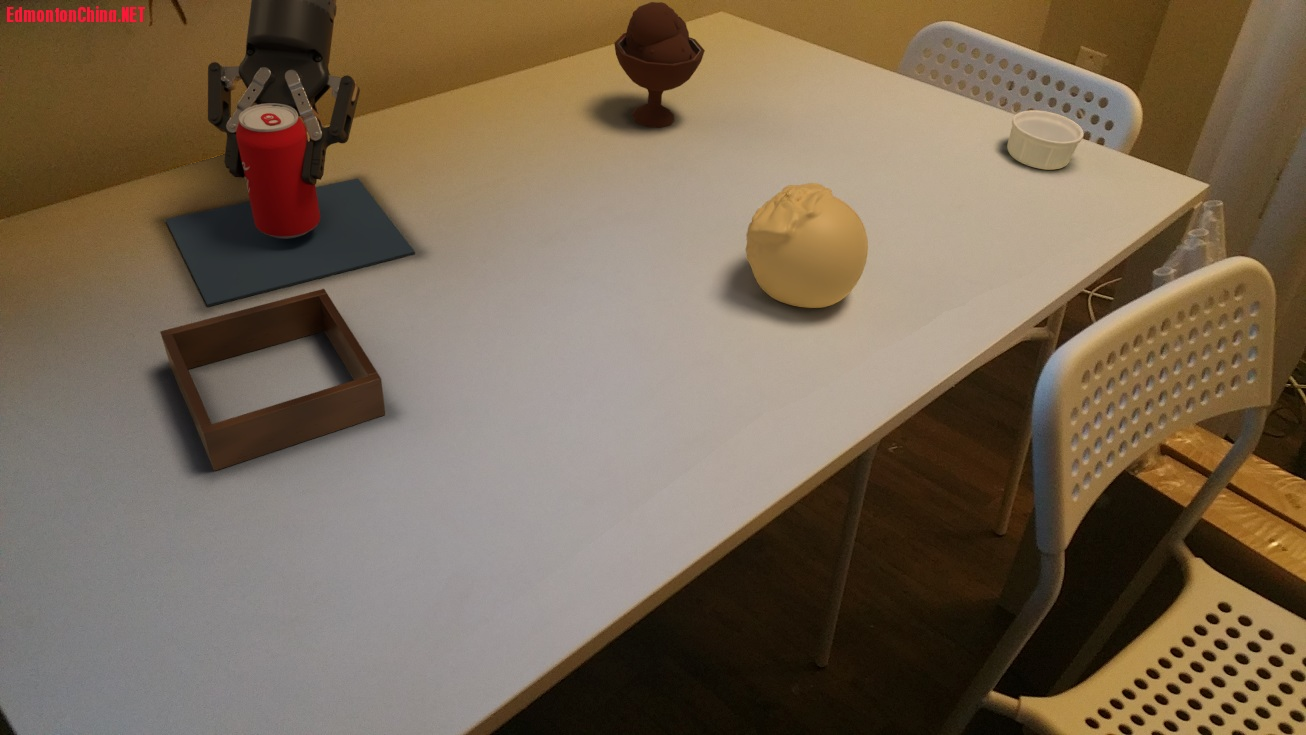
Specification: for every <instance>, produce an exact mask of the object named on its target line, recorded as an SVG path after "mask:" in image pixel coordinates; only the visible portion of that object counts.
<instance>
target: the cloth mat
mask: <svg viewBox="0 0 1306 735" xmlns="http://www.w3.org/2000/svg"><path fill="white" fill-rule="evenodd" d="M315 187H316V193H317V199H318V205H319V211H320V221H319V223H318V225H317V226H316V227H315V228H314V229H312V230H311V231H309V232H308V233H306V234H304V235H302V236H299V237H295V238H288V239H282V238H276V237H272V236H269V235H266V234H264V233H262V232H261V231H260V230H258V229H257V227H256V226H255V222H254V217H253V212H252V208H251V203H250V200H249V201H243V202H239V203H235V204H229V205H225V206H220V207H215V208H212V209H205V210H202V211H197V212H192V213H188V214H183V215H177V216H173V217H169V218H165V223H166V225H167V226H168V229H169V231H170V233H171V235H172V237H173V239H174V241H175V243H176V245H177V247H178V250H179V251H180V253H181V256H182V257H183V259H184V261H185V263H186V265H187V268H188V271H189V272H190V274H191V276H192V278H193V280H194V282H195V284H196V286H197V288H198V290H199V292H200V294H201V296H202V298H203V300H204V302H205V304H206V306H207V307H208V308H209V307H213V306H217V305H221V304H224V303H228V302H232V301H237V300H240V299H244V298H248V297H252V296H256V295H260V294H263V293H264V294H265V293H268V292H271V291H275V290H280V289H283V288H287V287H291V286H295V285H298V284H299V285H300V284H302V283H303V284H304V283H306V282H311V281H315V280H319V279H323V278H327V277H330V276H334V275H339V274H342V273H347V272H350V271H353V270H357V269H362V268H365V267H370V266H373V265H377V264H381V263H385V262H390V261H393V260H397V259H401V258H404V257H409V256H413V255H415V254H416V251H415V250H414V249H413V247H412V246H411V245H410V243H409V241H408V240H407V239H406V238H405V237H404V236H403V234H402V233H401V231H399V229H398V228H397V226H396V225H395V224H394V222H393V221H392V220H391V219H390V217H389V216H388V215H387V213H386V212H385V211H384V209H383V208H382V207H381V206H380V204H379V203H378V202H377V201H376V199H375V198H374V197H373V195H371V193H370V192H369V190H368V189H367V188H366V187H365V185H364V184H363V182H361V180H360V179H359V178H358V177H357V178H353V179H348V180H343V181H338V182H334V183H329V184H324V185H319V186H315Z"/></svg>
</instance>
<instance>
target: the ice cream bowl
mask: <svg viewBox="0 0 1306 735" xmlns="http://www.w3.org/2000/svg"><path fill="white" fill-rule="evenodd" d="M613 44H614V52H615V56H616V58H617V61H618V63H619V66H620V67H621V69H622V70H623V72H624V73H625V75H627V77H628V78H629V79H630V80H631V81H632V82H633V83H634V84H636V85H637V86H639V87H641V88H643V89H646V90H647V93H648V94H647V103H645V104H642V105H639V106H636V108H635V109H634V110H633V111H632V114H631V117H632V119H633V121H634V122H635V123H637V124H638V125H639V124H640V125H641V126H644V127H648V128H664V127H667V126H672V124H673V122H674V121H675V115H674V113H673V112H672V111H671V110H670V108H668V107H666V106H664V105H663V104H662V100H663V99H662V98H663V93H664V92H666V91H671V90H673V89H677V88H678V87H682V85H685V83H686V82H688V81H689V80H690V79H691V78H692V76H693V75H694V73H695V72H696V70H697V69H698V67H699V66H700V64H701V62H702V60H703V58H704V54H705V52H706V50H705V49H704V47H702V45H701V44H700V43H699V41H697V39H695V38H693V37H690V32H689V30H688V27H687V22H685V20H684V19H683V18H681V16H679V14H678V13H676V12H675V10H674V9H673V8H672V7H670V6H669V5H668V4H667V3H666V2H662V1H661V2H660V1H659V2H657V1H650V2H648V3H645V4H643V5H640V6H637V8H636V9H635V10H634V11H632V16H631V17H630V19H629V22H628V25H627V27H626V32H624V33H622V34H621V35H620V36H619V37H618V39H616V40H615V41H614V43H613Z"/></svg>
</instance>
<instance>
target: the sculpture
mask: <svg viewBox="0 0 1306 735" xmlns="http://www.w3.org/2000/svg"><path fill="white" fill-rule="evenodd" d="M745 253H746V261H747V262H748V263H749V265H750V268H751V271H752V275H753V277H754V279H755V281H756V283H757V284H758V286H759V287H760V288H761V289H762V290H763V292H764V293H765V294H767V295H768V296H769V297H770V298H772V299H773V300H775V301H778V302H780V303H783V304H786V305H790V306H794V307H799V308H806V309H807V308H808V309H818V308H819V309H821V308H827V307H830V306H833V305H835V304H837V303H839V302H841V301H842V300H843V299H845V298H846V297H847V296H848V295H849V294H850V293H851V292H852V290H854V288H855V287H856V285H857V284H858V283H859V281H860V279H861V277H862V275H863V273H864V270H865V268H866V265H867V261H868V253H869V241H868V235H867V231H866V227H865V225H864V222H863V220H862V219H861V218H860V216H859V214H858V213H857V212H856V210H855V209H853V207H851V206H850V205H849V204H848V203H847V202H845V201H844V200H842V199H840V198H838V197H836V196H834V195H833V190H832V189H831V188H829V187H825V186H824V185H822V184H820V183H818V182H810V183H809V182H808V183H804V184H788V185H786V186H785V187H784V188H783V189H782V190H781V191H779V192H778V193H776V194H775V195H774V196H772V197H771V199H769V200H767V201H765V203H764V204H763V205H762V206H761V207H759V208H757V209H756V211H755V213H754V214H753V216H752V218H751V222H749V224H748V227H747V232H746V246H745Z"/></svg>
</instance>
